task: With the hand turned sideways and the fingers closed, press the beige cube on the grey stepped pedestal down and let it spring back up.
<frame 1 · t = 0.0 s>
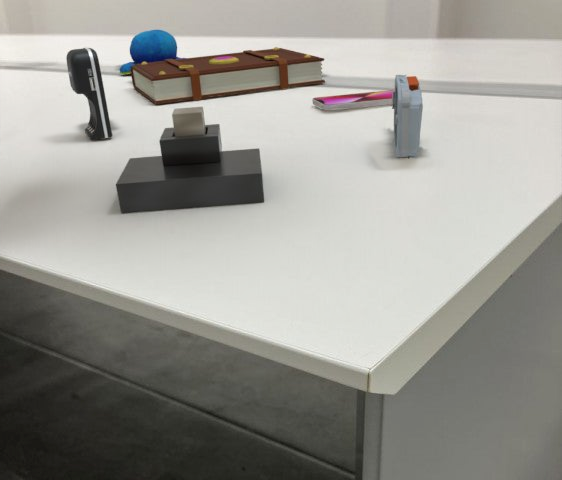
plush toy: (157, 71, 155), on the table
beige cube: (189, 123, 70), point 6 cm above the table, slide at 0.1 cm
book: (225, 87, 130), on the table
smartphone: (363, 104, 106), on the table
black curved upright piece: (96, 138, 98), on the table
grey stepped pedestal: (195, 193, 71), on the table
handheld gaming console: (405, 154, 80), on the table
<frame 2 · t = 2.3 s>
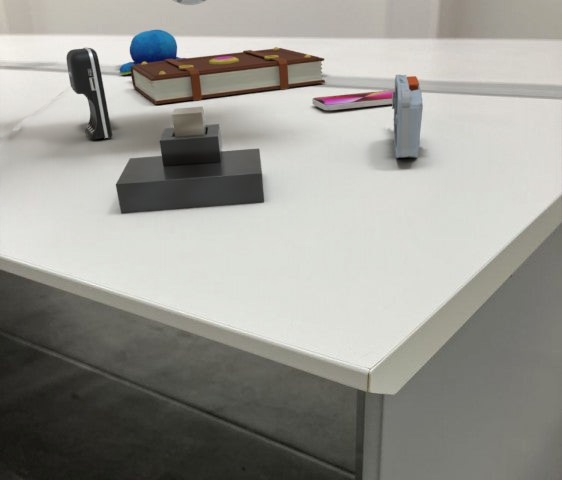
nothing on the table moved.
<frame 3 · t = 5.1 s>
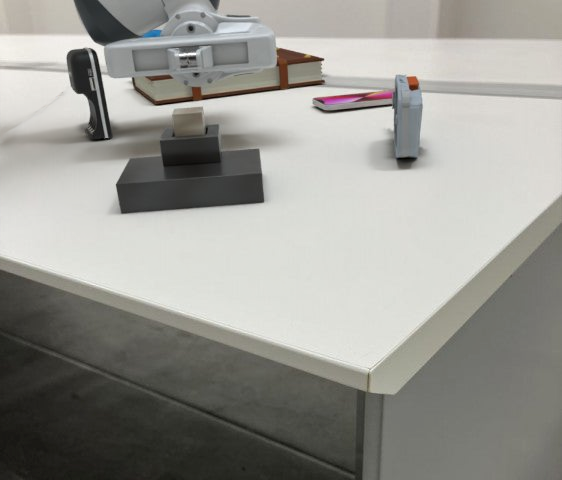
hand: (188, 61, 75), 11 cm above the table, tool horizontal, fingers closed
nothing on the table moved.
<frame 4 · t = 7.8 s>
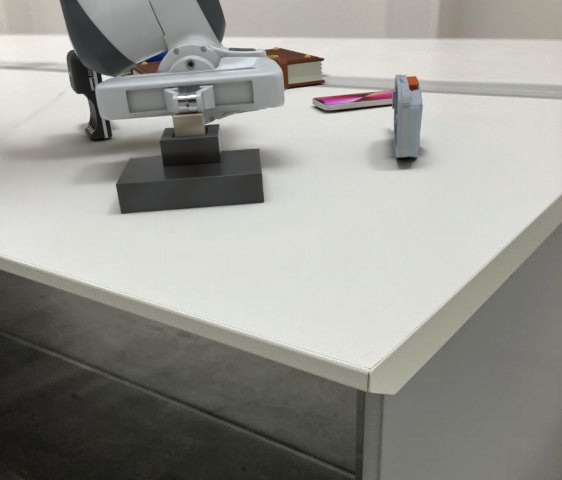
hand: (187, 105, 68), 8 cm above the table, tool horizontal, fingers closed, pressing on beige cube
beige cube: (189, 125, 70), point 6 cm above the table, slide at -0.2 cm, touching gripper
everything else where it was.
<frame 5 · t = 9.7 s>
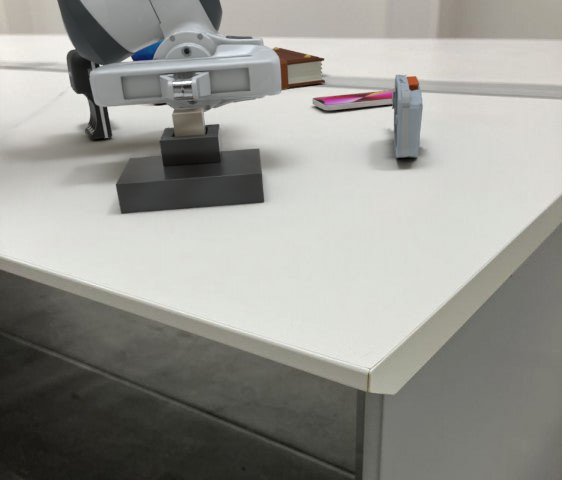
hand: (182, 91, 68), 10 cm above the table, tool horizontal, fingers closed
beige cube: (189, 123, 70), point 6 cm above the table, slide at 0.1 cm
everything else where it was.
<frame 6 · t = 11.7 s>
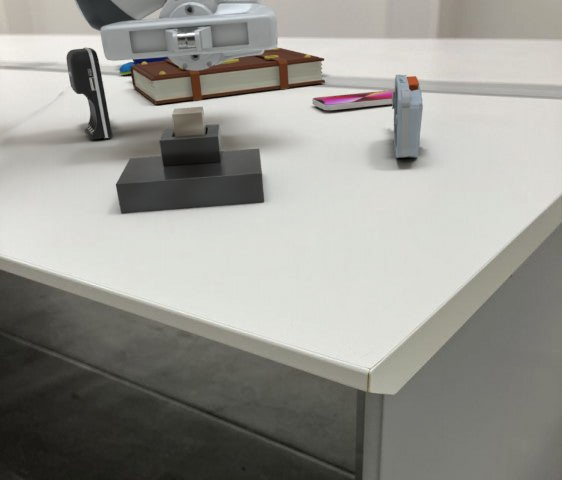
hand: (186, 42, 73), 13 cm above the table, tool horizontal, fingers closed
nothing on the table moved.
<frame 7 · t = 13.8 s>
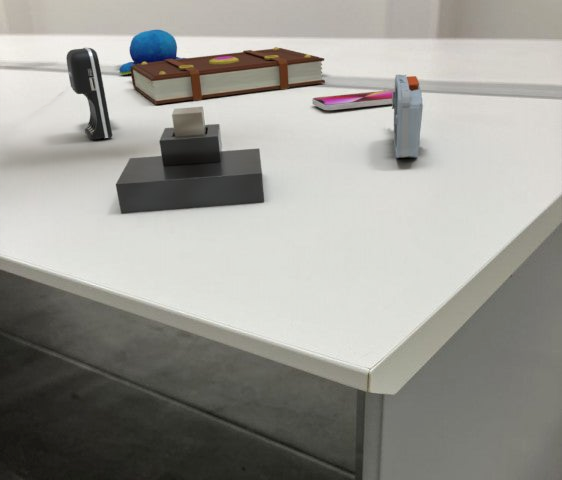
nothing on the table moved.
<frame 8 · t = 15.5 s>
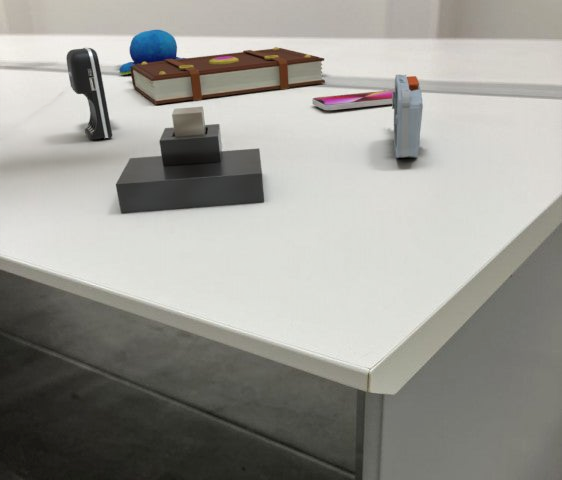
nothing on the table moved.
at the end: beige cube pushed in 1.8 cm at the most during the clip, back to where it started at the end; beige cube slide at 0.1 cm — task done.
